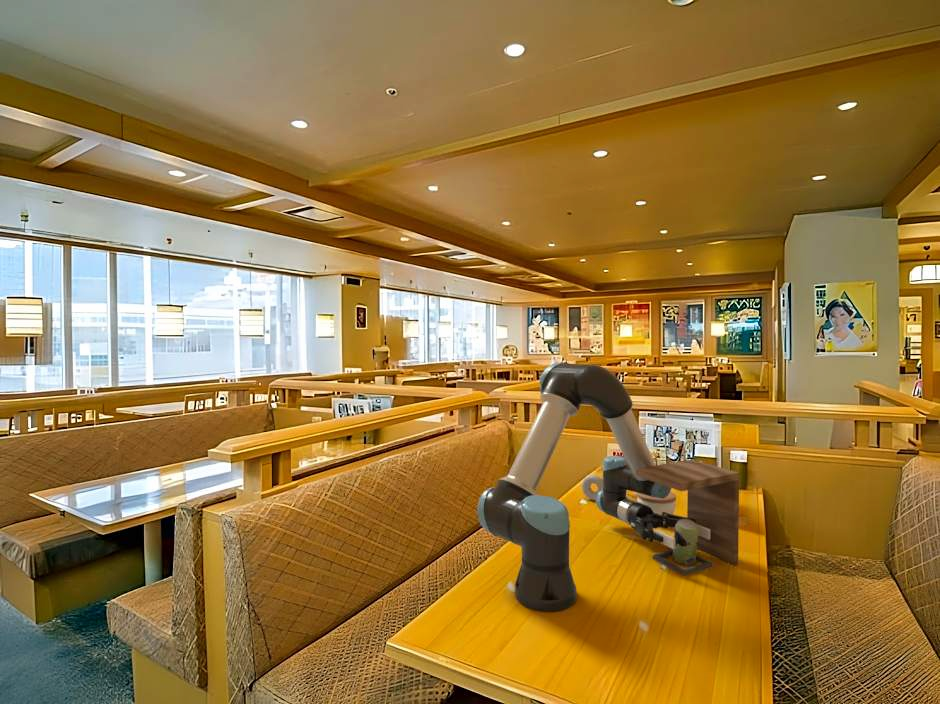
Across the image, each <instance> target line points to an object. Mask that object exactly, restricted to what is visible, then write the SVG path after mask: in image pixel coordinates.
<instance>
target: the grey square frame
mask: <svg viewBox="0 0 940 704" xmlns="http://www.w3.org/2000/svg"><path fill="white" fill-rule="evenodd" d="M669 557H670V558H671V557H673V549H670V550H666V551H663V552H658V553H655V554H652V560H654V561H656V562H658V563H660V564H661V565H664V566H666V567H667V568H669V569H671V570H673V571H675V572H676V573H679V574H681V575H682V576H688V575H691V574H693V573H697V572H700V571H705V570H707V569H711V568H713V567H714V562H712V561H710V560H708V559H706V558H704V557H702V556H699V555H698V554H696V561H695V562H697V563H699V564H695V565H692V566H688V567H686V568H683V567H681V566H679V565H678V564H675V563H673V562H672V561H669V560H667V559H666V558H669Z"/></svg>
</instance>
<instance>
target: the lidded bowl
mask: <svg viewBox="0 0 940 704" xmlns="http://www.w3.org/2000/svg"><path fill="white" fill-rule="evenodd" d="M636 496H637V502H640V503H642V504H644V505H647V506H649V507H650V508H651V509H652V511H653V512H654V513H656V514H659V515H662V512H666V513H669V514H673V515H675V514H674V513H675V511H676V505H677V504H676V500H677V495H676V493H674V492H672V491H670V493H669V495H668V496H667V497H666V498H664V499H660V498H656V497H651V496H647V495H644V494H640V493H637V492H636ZM663 524H665V522H664V521H663Z"/></svg>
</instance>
